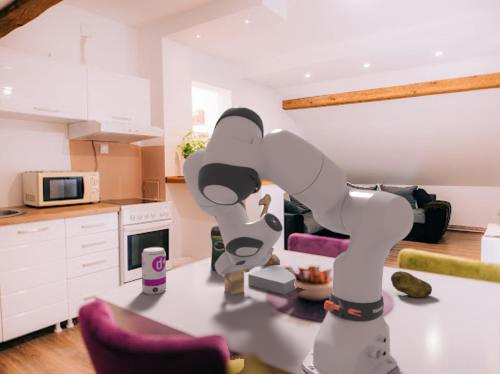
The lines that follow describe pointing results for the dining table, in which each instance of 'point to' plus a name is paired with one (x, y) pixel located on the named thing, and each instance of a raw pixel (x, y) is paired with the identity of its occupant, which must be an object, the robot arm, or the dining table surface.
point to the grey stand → (273, 279)
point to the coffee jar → (216, 245)
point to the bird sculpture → (265, 202)
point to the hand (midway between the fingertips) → (234, 272)
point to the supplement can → (153, 270)
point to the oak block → (235, 282)
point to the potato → (410, 284)
